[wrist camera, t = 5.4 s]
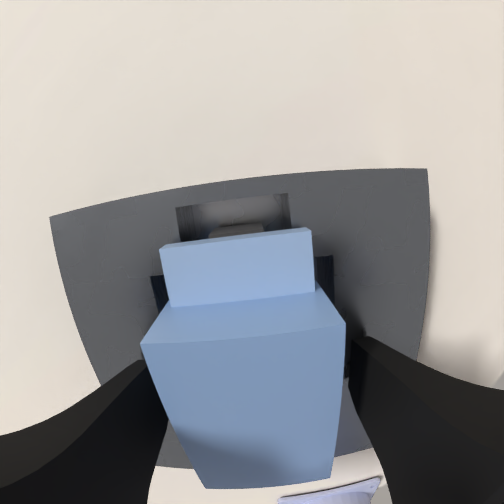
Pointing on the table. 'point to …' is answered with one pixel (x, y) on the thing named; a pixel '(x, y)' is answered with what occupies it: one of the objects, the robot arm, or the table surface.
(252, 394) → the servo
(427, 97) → the table surface
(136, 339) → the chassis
